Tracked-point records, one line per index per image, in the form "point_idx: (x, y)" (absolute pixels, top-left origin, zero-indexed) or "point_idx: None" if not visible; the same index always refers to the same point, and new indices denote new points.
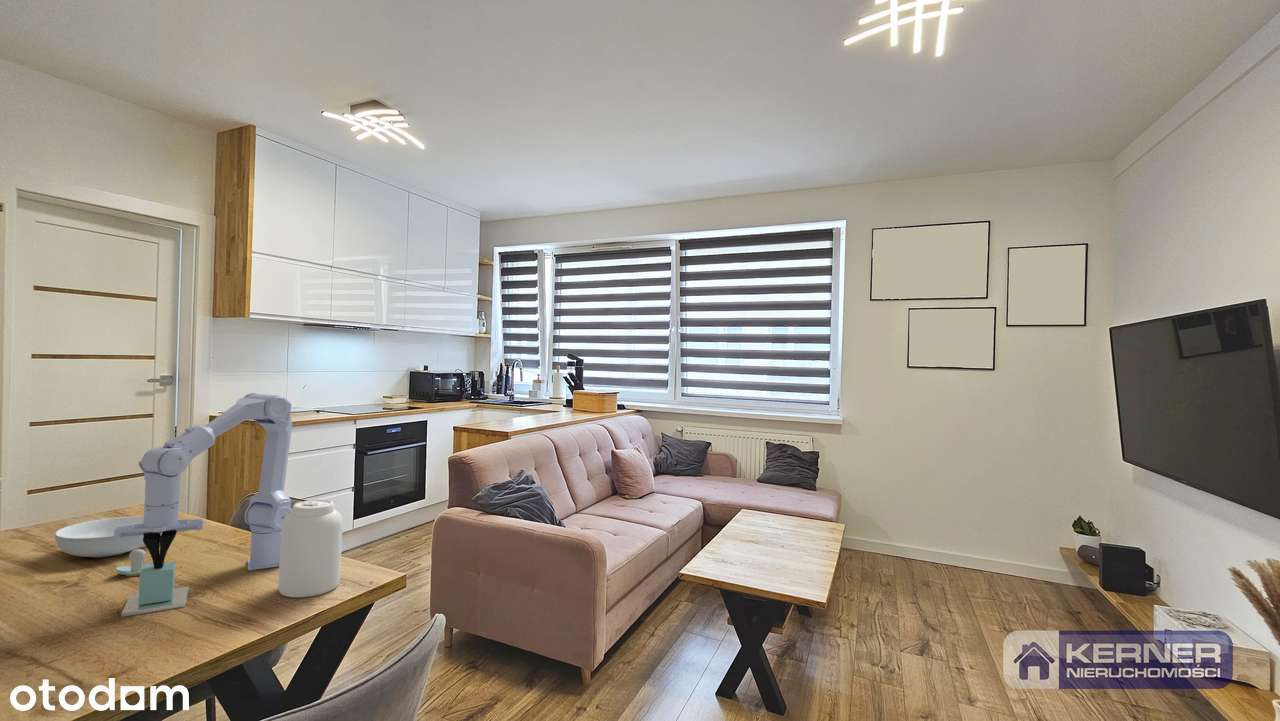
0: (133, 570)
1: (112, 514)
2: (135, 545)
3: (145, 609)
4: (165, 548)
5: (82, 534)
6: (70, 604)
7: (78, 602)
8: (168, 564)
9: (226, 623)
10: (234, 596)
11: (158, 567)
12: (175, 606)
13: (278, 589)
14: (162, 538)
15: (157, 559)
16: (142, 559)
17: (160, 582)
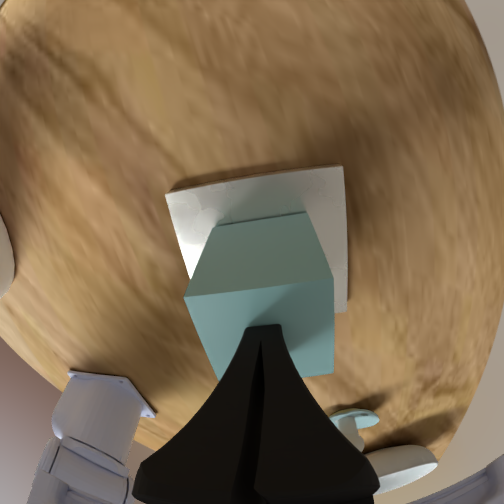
0: (350, 418)
1: None
2: None
3: (276, 174)
4: (211, 413)
5: (403, 472)
6: (446, 302)
7: (435, 310)
8: None
9: (44, 52)
10: (74, 234)
11: (261, 328)
12: (191, 186)
13: (2, 229)
14: (208, 493)
15: (263, 357)
16: None
17: (242, 257)
